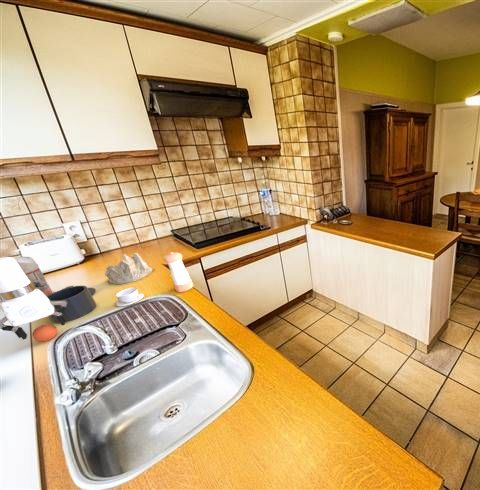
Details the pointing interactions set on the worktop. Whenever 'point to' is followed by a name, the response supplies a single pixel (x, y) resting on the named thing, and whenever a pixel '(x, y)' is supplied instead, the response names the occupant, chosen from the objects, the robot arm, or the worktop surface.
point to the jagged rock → (128, 270)
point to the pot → (73, 302)
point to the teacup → (128, 297)
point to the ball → (45, 332)
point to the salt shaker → (178, 272)
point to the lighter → (42, 287)
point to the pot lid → (88, 289)
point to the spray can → (31, 269)
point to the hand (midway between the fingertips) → (45, 330)
